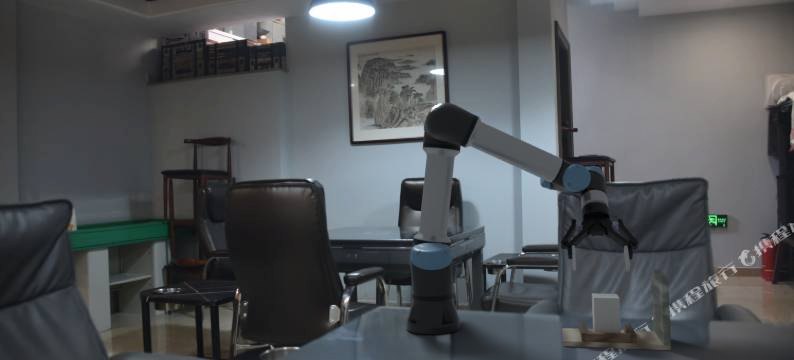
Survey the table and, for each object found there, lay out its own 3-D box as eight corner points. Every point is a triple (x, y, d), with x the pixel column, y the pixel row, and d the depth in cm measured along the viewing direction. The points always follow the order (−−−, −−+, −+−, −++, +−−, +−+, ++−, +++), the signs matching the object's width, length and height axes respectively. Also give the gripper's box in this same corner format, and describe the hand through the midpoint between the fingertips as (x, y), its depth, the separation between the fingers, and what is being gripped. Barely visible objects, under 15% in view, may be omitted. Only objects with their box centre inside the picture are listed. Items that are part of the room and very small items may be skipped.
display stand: (564, 346, 140) (561, 275, 140) (562, 332, 152) (560, 267, 152) (671, 350, 133) (668, 276, 134) (660, 336, 146) (657, 268, 146)
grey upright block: (595, 338, 141) (593, 297, 141) (593, 332, 147) (591, 293, 147) (621, 339, 140) (619, 298, 140) (617, 333, 145) (616, 293, 146)
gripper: (639, 217, 167) (649, 276, 153) (551, 218, 174) (553, 275, 159) (642, 199, 162) (652, 259, 147) (550, 201, 169) (552, 258, 154)
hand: (601, 268), depth 153 cm, fingers open, 13 cm apart
